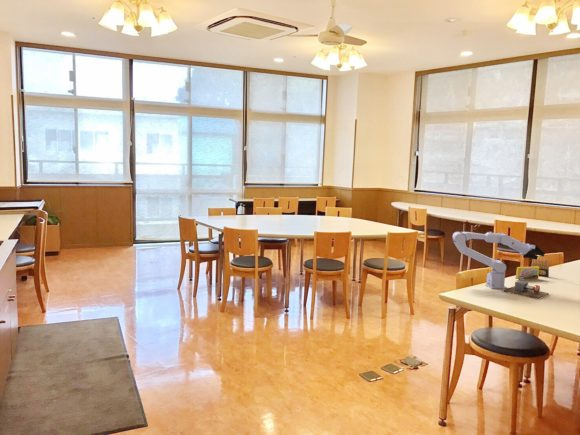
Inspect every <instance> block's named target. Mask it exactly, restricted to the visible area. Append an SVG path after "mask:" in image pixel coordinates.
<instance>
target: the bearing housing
mask: <svg viewBox="0 0 580 435" xmlns="http://www.w3.org/2000/svg"><path fill="white" fill-rule="evenodd" d="M524 285H529V281H527V280H516V281H515V283H514V286H515V291H519V292H524V291H527V290H528V289H524Z"/></svg>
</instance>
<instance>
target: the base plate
mask: <svg viewBox="0 0 580 435" xmlns="http://www.w3.org/2000/svg"><path fill="white" fill-rule="evenodd" d="M503 292H504V293H505V292H506V293H508V292H509V293H508V294H513V293H514V295H517V294H518V296H523V297H527V298H532V299H535V300H540V299H541V298H544V297H547V296H549V292H545V291H541V290H540V291H539V293H534V290H529V289H528V290H527V291H524V292H519V291H515V285H514V286H511V287H507V288H504V289H503Z"/></svg>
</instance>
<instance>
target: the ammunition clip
mask: <svg viewBox="0 0 580 435" xmlns="http://www.w3.org/2000/svg"><path fill="white" fill-rule="evenodd" d="M531 261H532V262H531V266H530V267H536V266H538V267H539V276H538V277H544V278H549V276H550V272H549V271H550V260H549V258H548V259H546V258H544V259H543V258H540V257H538V259H537V260H536V259H532V260H531Z"/></svg>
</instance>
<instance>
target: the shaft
mask: <svg viewBox="0 0 580 435" xmlns="http://www.w3.org/2000/svg"><path fill="white" fill-rule="evenodd" d="M524 289H529V290H534V293H539V291H541V286H540V285H538V284H535V285H534V286H533V285H529V284H528V285H524Z"/></svg>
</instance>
